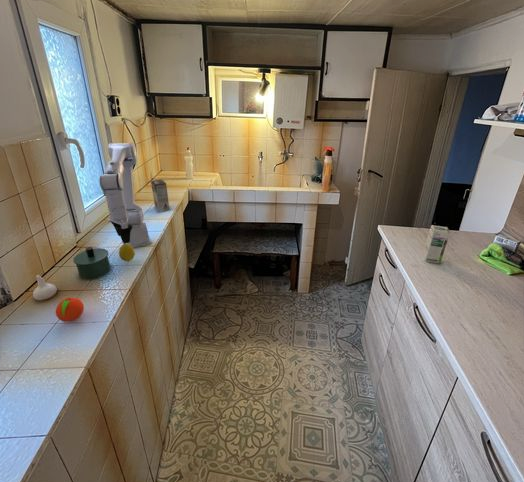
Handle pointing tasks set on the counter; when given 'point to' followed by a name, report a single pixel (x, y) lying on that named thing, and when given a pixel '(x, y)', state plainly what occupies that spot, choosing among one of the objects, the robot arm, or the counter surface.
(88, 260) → the pot lid
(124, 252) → the lemon
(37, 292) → the garlic bulb
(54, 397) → the counter surface
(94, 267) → the pot
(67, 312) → the red tomato
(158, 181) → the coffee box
